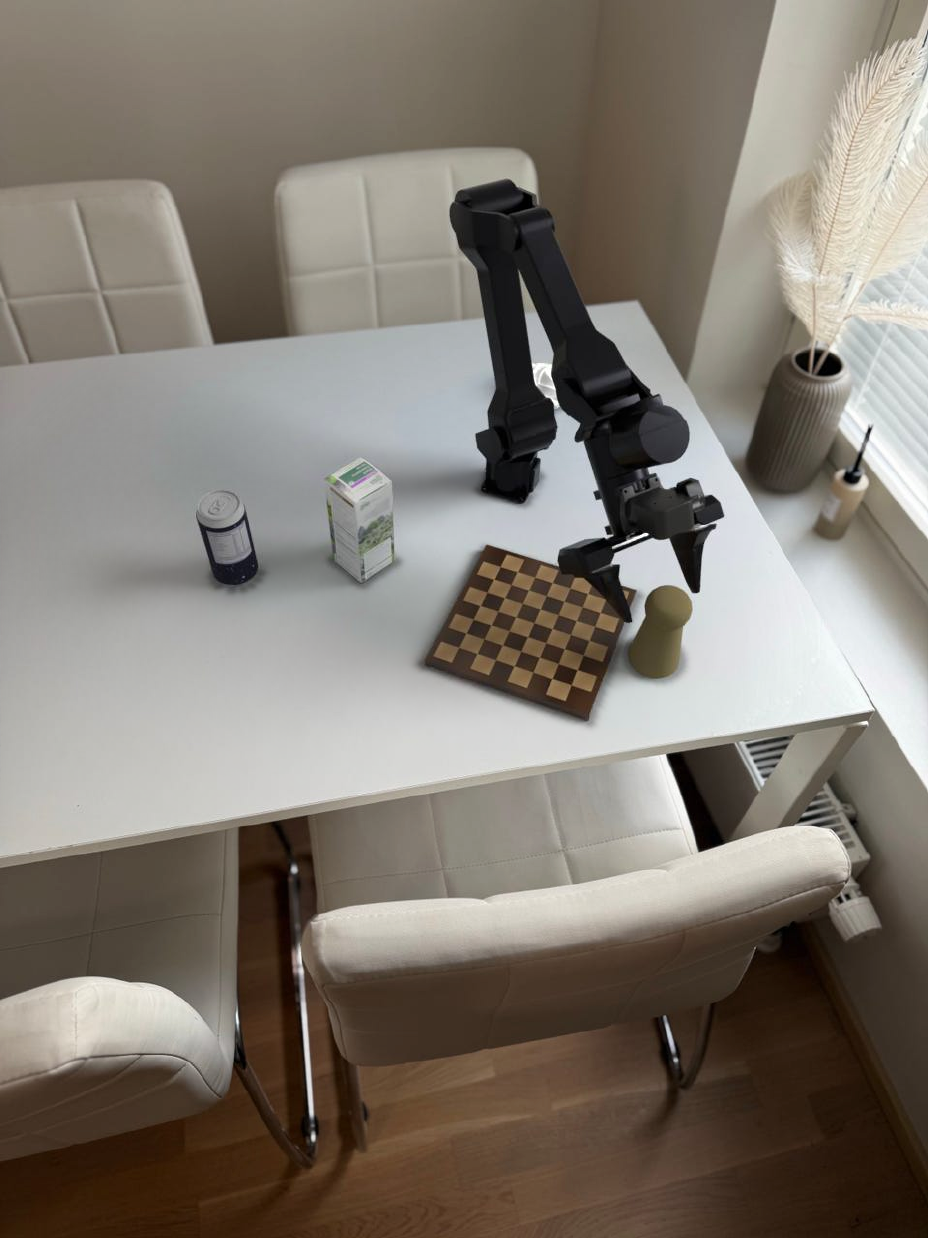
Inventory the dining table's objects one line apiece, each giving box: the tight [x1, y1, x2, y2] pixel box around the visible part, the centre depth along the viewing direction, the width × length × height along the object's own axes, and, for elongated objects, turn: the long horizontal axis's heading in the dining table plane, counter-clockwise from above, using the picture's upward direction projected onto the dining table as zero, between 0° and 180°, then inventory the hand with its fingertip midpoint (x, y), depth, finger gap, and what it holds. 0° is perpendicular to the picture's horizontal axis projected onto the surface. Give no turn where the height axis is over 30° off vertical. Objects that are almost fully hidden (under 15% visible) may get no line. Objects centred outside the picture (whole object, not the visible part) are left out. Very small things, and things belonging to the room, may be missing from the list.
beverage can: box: [195, 489, 259, 587], centre depth 111 cm, size 6×6×12 cm
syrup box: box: [323, 456, 396, 584], centre depth 112 cm, size 6×6×14 cm
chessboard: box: [424, 544, 638, 722], centre depth 111 cm, size 20×20×1 cm
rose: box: [532, 362, 561, 410], centre depth 138 cm, size 10×4×10 cm
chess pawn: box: [627, 584, 693, 679], centre depth 105 cm, size 6×6×11 cm
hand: (663, 607), depth 103 cm, fingers open, 9 cm apart
